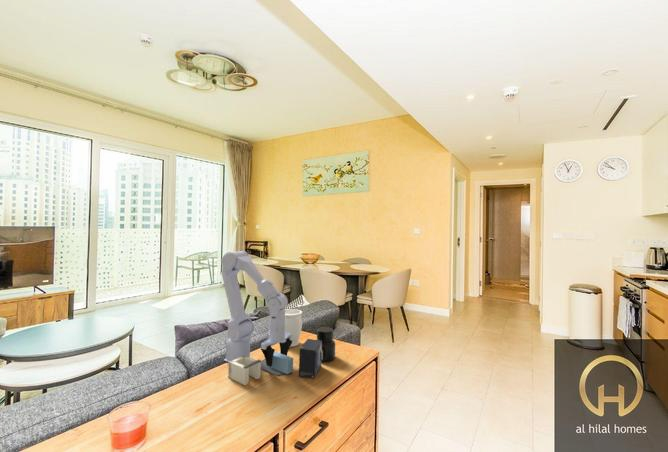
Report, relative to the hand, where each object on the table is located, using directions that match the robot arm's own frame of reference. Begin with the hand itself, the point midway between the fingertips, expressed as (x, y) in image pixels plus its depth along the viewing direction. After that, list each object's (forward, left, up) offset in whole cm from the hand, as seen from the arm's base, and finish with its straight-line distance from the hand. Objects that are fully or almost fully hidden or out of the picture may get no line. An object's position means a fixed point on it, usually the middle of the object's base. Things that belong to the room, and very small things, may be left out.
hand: (276, 362), depth 122 cm
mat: (-2, 0, -2) cm, 3 cm away
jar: (-13, +22, -3) cm, 26 cm away
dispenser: (-4, -12, -2) cm, 13 cm away
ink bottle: (+9, +19, -3) cm, 21 cm away
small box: (+12, +6, -3) cm, 14 cm away
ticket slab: (+2, 0, -2) cm, 3 cm away
